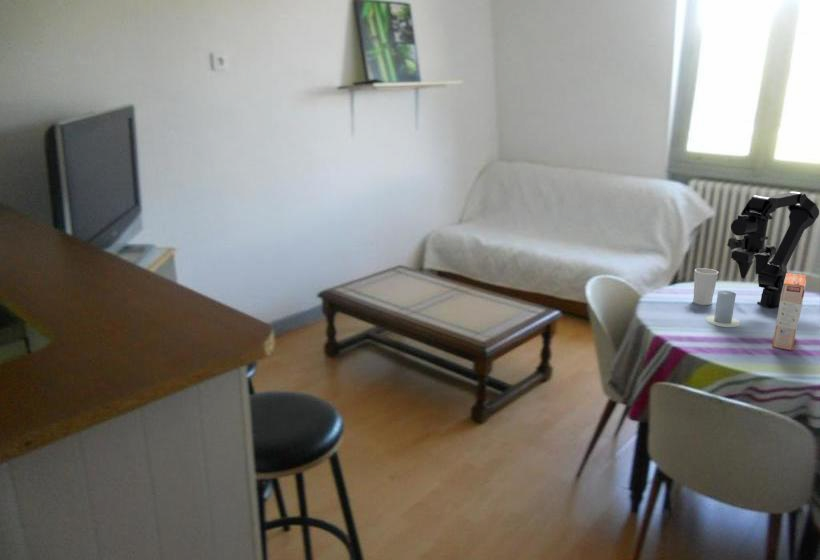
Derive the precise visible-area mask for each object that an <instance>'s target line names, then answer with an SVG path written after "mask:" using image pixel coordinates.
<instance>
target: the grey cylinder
mask: <svg viewBox="0 0 820 560" xmlns="http://www.w3.org/2000/svg"><path fill="white" fill-rule="evenodd" d="M736 295H737V293H736V292H734V291H730V290H718V291H717V297H716V303H715V310H714V315H713V316H714V321H716V322H718V323H722V324H730V323H732V318H733V316H734V310H735V304H736V303H735V302H736V298H737V296H736Z"/></svg>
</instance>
